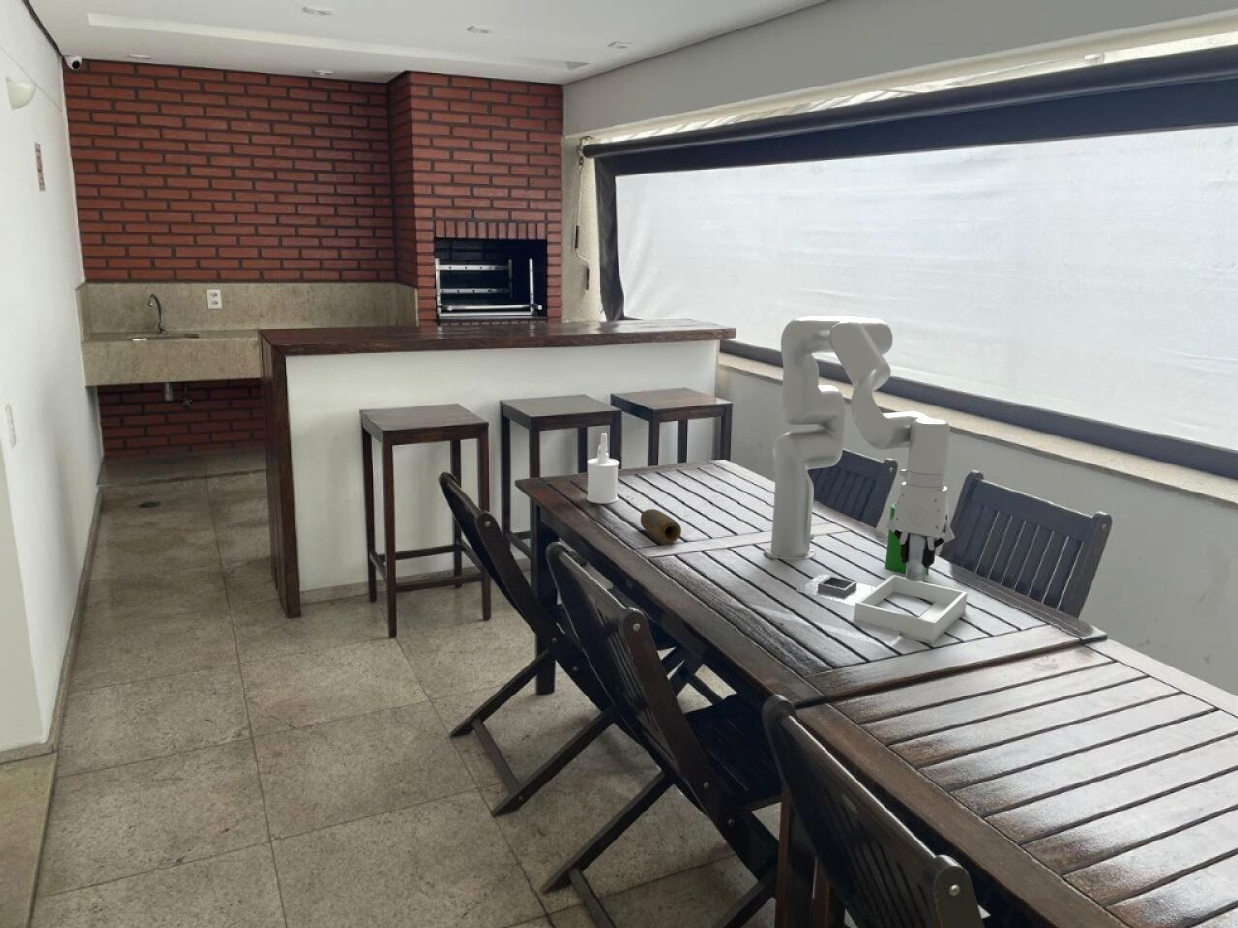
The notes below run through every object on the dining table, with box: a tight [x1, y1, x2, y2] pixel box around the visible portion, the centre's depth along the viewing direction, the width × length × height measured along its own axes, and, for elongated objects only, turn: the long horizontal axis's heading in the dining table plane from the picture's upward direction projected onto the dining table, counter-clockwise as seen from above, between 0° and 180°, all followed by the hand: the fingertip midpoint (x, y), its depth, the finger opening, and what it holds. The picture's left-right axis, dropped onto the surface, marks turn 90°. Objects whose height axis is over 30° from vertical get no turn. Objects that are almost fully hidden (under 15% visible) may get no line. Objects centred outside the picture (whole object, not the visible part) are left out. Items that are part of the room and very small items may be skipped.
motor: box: [884, 502, 930, 576], centre depth 231 cm, size 10×9×20 cm
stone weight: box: [640, 508, 682, 544], centre depth 254 cm, size 15×7×7 cm, turn 25°
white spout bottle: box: [586, 432, 620, 504], centre depth 285 cm, size 10×9×20 cm
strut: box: [904, 533, 928, 582], centre depth 201 cm, size 4×4×14 cm
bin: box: [853, 574, 969, 645], centre depth 205 cm, size 22×17×4 cm
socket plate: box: [794, 573, 877, 607], centre depth 217 cm, size 14×14×2 cm
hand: (916, 563), depth 202 cm, fingers closed on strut, 4 cm apart
